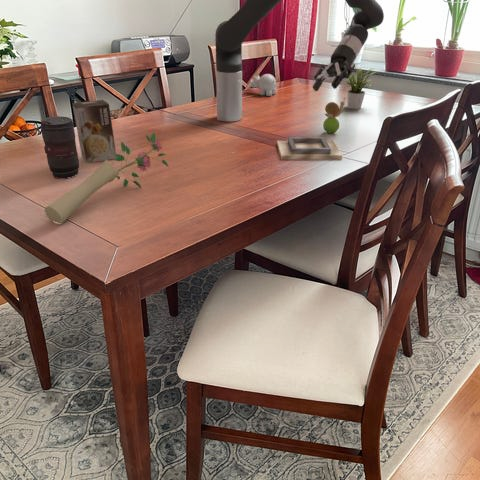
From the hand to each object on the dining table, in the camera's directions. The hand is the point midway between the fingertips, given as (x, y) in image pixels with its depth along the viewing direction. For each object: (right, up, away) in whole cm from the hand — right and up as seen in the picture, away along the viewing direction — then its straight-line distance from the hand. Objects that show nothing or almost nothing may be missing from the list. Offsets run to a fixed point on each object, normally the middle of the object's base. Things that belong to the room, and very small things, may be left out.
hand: (323, 88), depth 162 cm
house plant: (+20, +3, +35) cm, 40 cm away
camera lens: (-75, -33, -29) cm, 87 cm away
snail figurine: (+4, -14, +5) cm, 15 cm away
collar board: (-7, -23, -12) cm, 27 cm away
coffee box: (-70, -26, -18) cm, 77 cm away
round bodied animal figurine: (-18, +14, +55) cm, 60 cm away
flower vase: (-60, -40, -42) cm, 84 cm away
